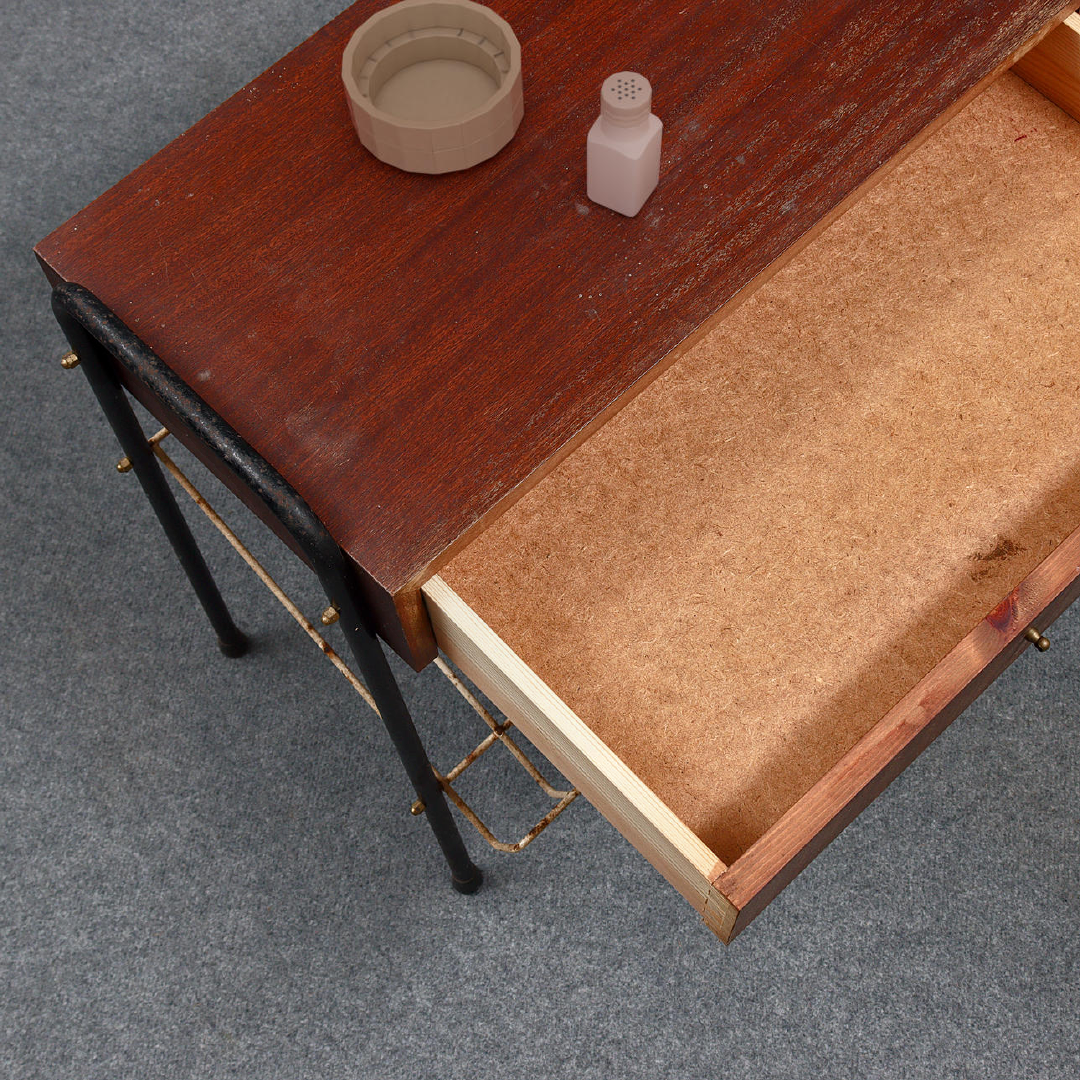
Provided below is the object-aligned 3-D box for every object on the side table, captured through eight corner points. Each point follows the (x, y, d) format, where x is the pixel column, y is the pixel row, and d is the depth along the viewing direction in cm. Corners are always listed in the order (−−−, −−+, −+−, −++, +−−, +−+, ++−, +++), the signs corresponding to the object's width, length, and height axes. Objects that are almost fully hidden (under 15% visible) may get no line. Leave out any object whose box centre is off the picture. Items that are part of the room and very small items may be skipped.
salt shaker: (611, 162, 89) (614, 57, 81) (661, 183, 88) (669, 79, 80) (583, 201, 88) (583, 98, 79) (634, 223, 87) (639, 122, 78)
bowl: (349, 183, 89) (337, 132, 85) (358, 53, 95) (346, -2, 90) (525, 177, 89) (521, 125, 85) (523, 46, 95) (519, -9, 90)
